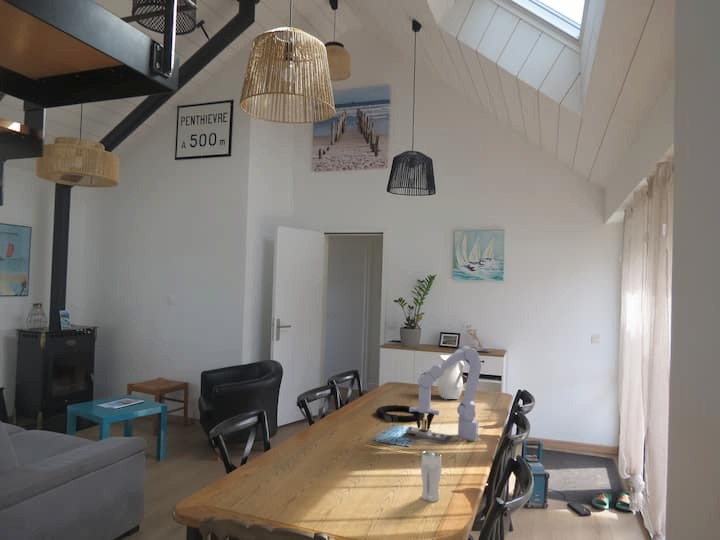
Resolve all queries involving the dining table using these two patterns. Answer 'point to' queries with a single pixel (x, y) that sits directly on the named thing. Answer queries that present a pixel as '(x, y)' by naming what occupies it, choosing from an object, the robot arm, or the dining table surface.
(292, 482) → the dining table surface
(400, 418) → the cable lock
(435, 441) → the dark grey backing panel
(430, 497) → the beer glass
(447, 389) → the pitcher
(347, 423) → the dining table surface
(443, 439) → the grey metal plate
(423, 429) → the brass pin
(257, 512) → the dining table surface
